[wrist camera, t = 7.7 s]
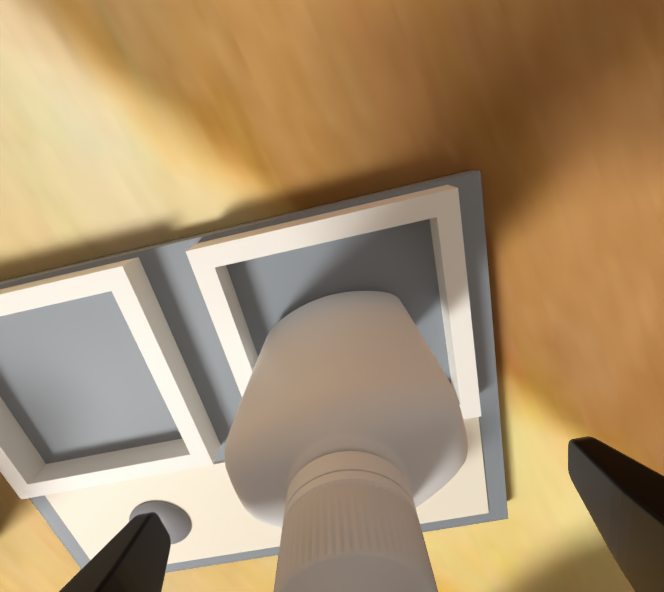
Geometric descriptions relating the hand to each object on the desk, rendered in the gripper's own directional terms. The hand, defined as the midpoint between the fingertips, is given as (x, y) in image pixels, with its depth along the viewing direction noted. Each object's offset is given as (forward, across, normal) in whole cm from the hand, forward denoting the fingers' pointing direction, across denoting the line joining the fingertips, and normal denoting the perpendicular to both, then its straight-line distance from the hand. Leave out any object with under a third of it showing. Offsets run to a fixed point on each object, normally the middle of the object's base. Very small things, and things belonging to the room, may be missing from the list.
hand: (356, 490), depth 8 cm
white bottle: (+8, 0, 0) cm, 8 cm away
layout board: (+9, +6, +4) cm, 12 cm away
